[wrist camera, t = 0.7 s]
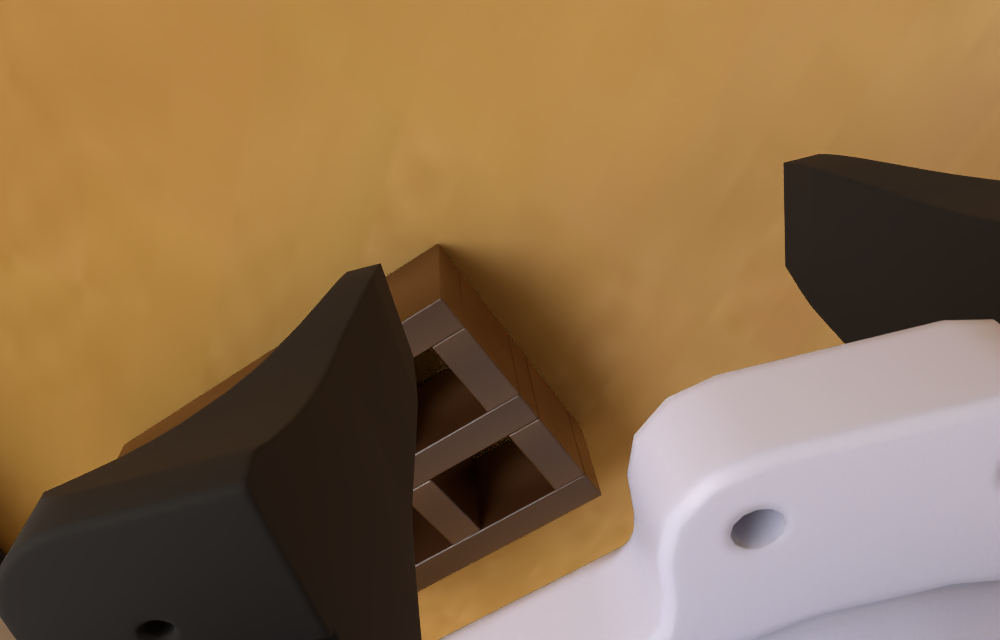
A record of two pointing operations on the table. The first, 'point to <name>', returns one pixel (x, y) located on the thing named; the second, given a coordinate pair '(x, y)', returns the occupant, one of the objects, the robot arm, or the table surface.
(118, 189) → the table surface
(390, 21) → the table surface
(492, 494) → the organizer
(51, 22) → the table surface
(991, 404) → the robot arm
